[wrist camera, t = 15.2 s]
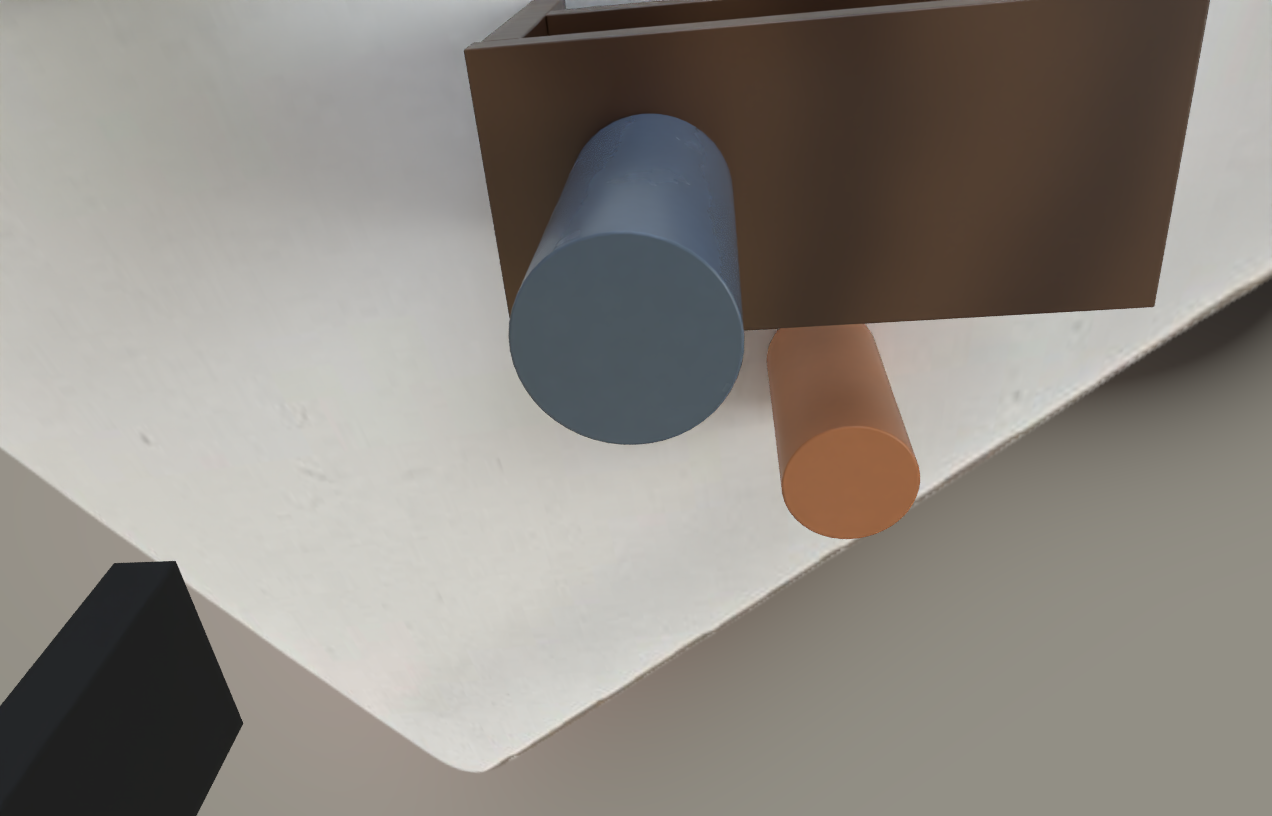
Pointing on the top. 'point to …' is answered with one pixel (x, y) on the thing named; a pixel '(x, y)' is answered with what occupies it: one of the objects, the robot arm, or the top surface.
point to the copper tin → (839, 432)
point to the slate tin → (634, 287)
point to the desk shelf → (871, 142)
